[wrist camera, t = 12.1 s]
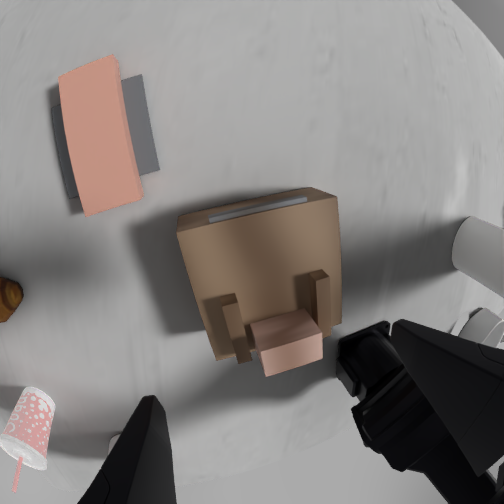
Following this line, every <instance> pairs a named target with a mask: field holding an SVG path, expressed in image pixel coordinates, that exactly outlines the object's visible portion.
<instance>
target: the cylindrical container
mask: <svg viewBox="0 0 504 504" xmlns="http://www.w3.org/2000/svg"><path fill="white" fill-rule="evenodd" d="M452 262H453V265H454V267H455V268H456V269H458V270H460V271H461V272H463V273H465V274H466V275H468V276H470V277H471V278H473V279H475V280H476V281H478V282H479V283H481V284H483V285H484V286H486V287H487V288H489V289H491V290H492V291H494V292H495V293H497V294H498V295H500V296H501V297H503V298H504V229H502V228H500V227H498V226H495V225H493V224H491V223H488V222H486V221H483V220H481V219H478V218H476V217H473V216H472V217H469V218H467V219H466V220H465V221H464V222H463V223H462V224H461V226H460V228H459V230H458V232H457V234H456V236H455V239H454V243H453V248H452Z"/></svg>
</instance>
